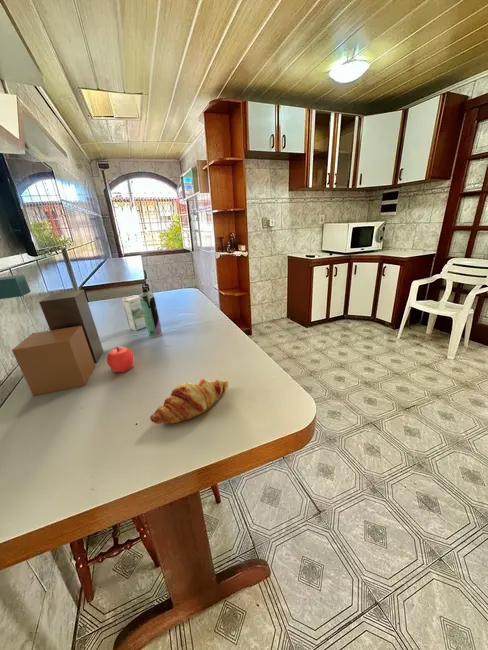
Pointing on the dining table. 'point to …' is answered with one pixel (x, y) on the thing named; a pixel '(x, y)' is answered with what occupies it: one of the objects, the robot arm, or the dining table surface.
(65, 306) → the stand
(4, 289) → the teal stepped bar
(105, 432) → the dining table surface
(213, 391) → the croissant
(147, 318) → the spray can
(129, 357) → the apple
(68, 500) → the dining table surface
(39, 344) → the carton
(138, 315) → the syrup box
